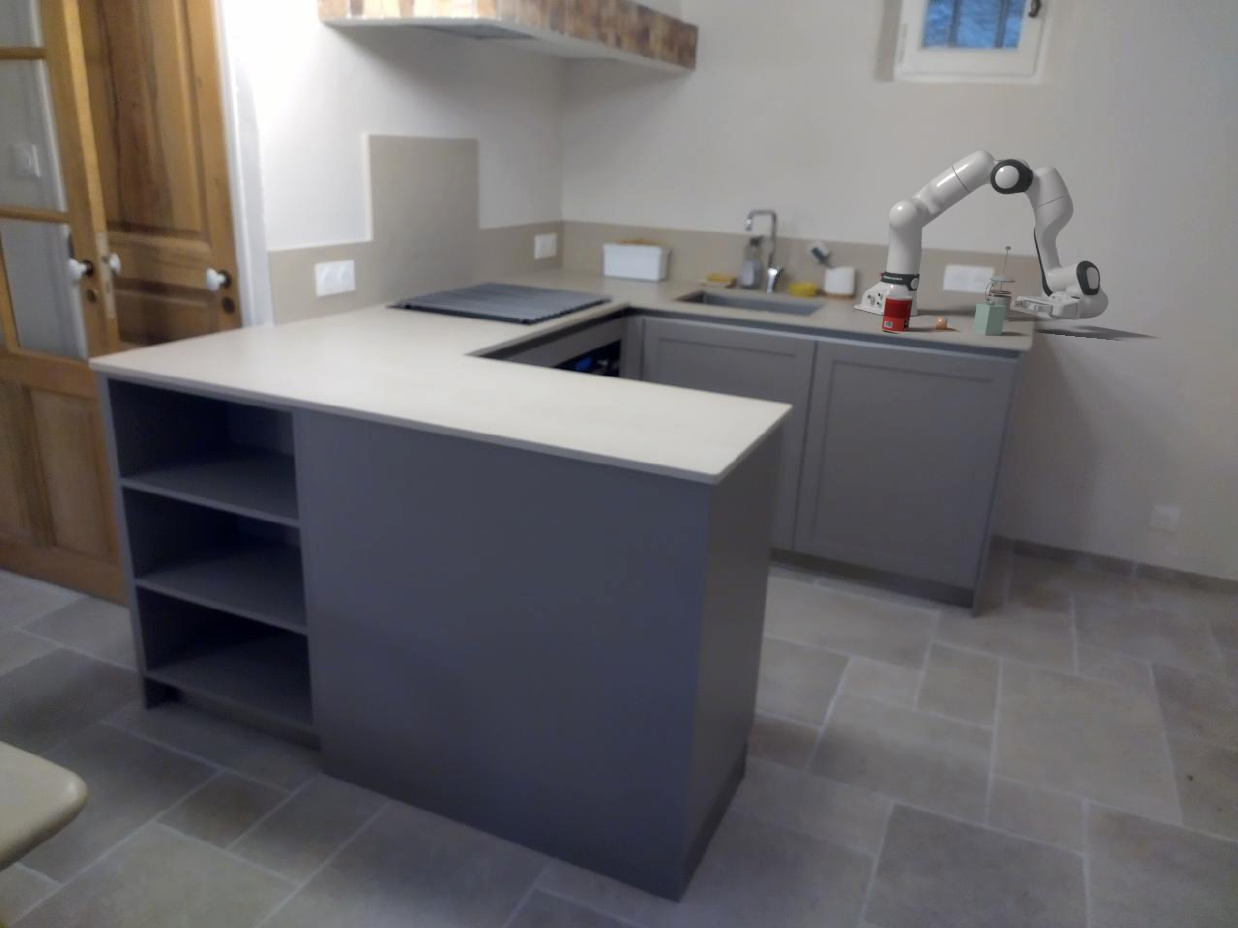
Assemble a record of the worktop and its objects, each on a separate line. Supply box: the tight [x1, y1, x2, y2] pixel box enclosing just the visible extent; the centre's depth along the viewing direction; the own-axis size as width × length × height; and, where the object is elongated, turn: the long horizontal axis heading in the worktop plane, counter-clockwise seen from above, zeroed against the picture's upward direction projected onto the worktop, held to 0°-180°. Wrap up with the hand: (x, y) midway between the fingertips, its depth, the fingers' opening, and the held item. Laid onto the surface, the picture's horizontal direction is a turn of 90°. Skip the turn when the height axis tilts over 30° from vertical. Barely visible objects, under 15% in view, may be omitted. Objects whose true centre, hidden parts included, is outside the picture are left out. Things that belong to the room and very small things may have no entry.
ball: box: [935, 316, 949, 330], centre depth 287 cm, size 3×3×4 cm
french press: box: [984, 245, 1016, 323], centre depth 312 cm, size 10×12×25 cm
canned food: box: [881, 295, 913, 335], centre depth 282 cm, size 8×8×11 cm
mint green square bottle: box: [972, 301, 1006, 336], centre depth 282 cm, size 6×6×10 cm
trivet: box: [922, 325, 963, 333], centre depth 287 cm, size 9×9×1 cm
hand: (1024, 306), depth 284 cm, fingers open, 8 cm apart
